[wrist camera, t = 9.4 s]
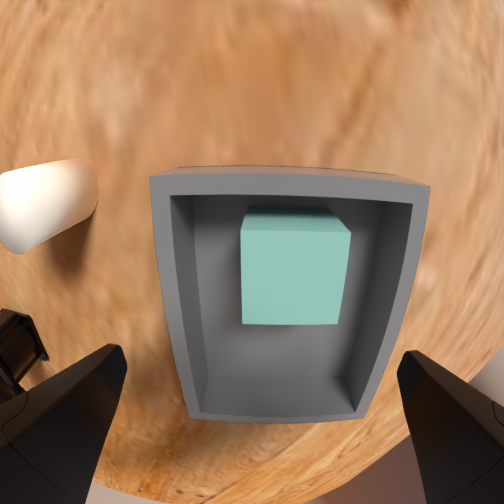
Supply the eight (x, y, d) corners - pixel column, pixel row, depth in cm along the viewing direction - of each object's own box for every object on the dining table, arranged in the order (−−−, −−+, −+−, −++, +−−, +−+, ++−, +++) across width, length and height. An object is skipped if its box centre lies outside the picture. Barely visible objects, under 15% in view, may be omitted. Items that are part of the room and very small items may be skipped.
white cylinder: (102, 220, 19) (43, 255, 12) (56, 222, 19) (-1, 253, 12) (96, 154, 17) (29, 165, 10) (50, 163, 17) (-14, 178, 11)
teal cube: (328, 208, 17) (351, 232, 12) (321, 281, 19) (337, 324, 14) (247, 206, 17) (240, 230, 12) (248, 280, 19) (242, 323, 14)
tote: (351, 377, 23) (363, 418, 18) (200, 375, 24) (189, 417, 19) (392, 174, 17) (430, 186, 12) (179, 167, 17) (149, 176, 12)
